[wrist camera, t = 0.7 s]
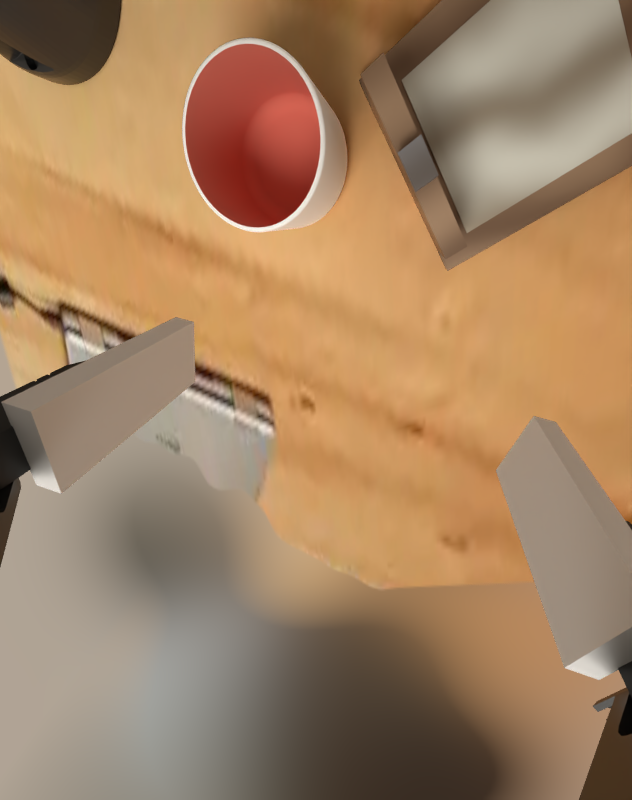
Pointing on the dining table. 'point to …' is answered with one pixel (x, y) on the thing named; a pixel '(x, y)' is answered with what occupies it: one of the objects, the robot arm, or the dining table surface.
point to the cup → (262, 139)
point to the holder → (505, 112)
